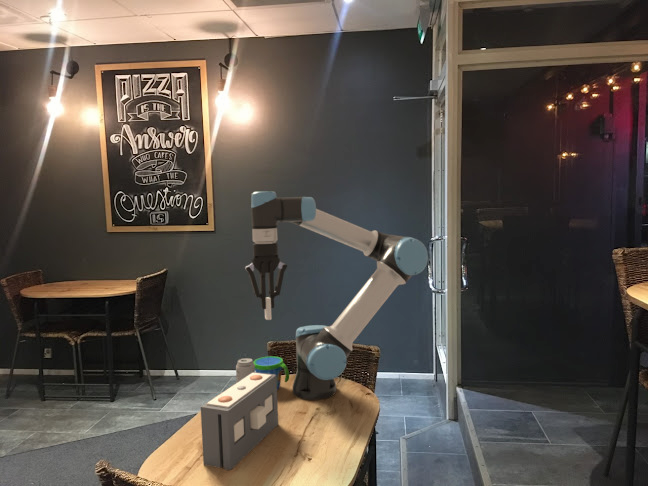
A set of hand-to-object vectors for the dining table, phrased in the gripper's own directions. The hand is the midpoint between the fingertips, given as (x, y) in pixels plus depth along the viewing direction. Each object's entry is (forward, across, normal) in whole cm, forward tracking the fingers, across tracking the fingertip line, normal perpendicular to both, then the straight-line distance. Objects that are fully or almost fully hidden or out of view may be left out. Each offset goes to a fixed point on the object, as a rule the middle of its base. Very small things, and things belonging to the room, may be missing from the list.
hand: (268, 318), depth 148 cm
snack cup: (+31, +4, +21) cm, 37 cm away
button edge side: (+25, -15, -22) cm, 36 cm away
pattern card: (+15, -11, -15) cm, 24 cm away
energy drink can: (+31, -6, +10) cm, 33 cm away
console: (+30, -11, -15) cm, 36 cm away
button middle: (+25, -8, -18) cm, 31 cm away
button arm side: (+25, -4, -10) cm, 27 cm away
